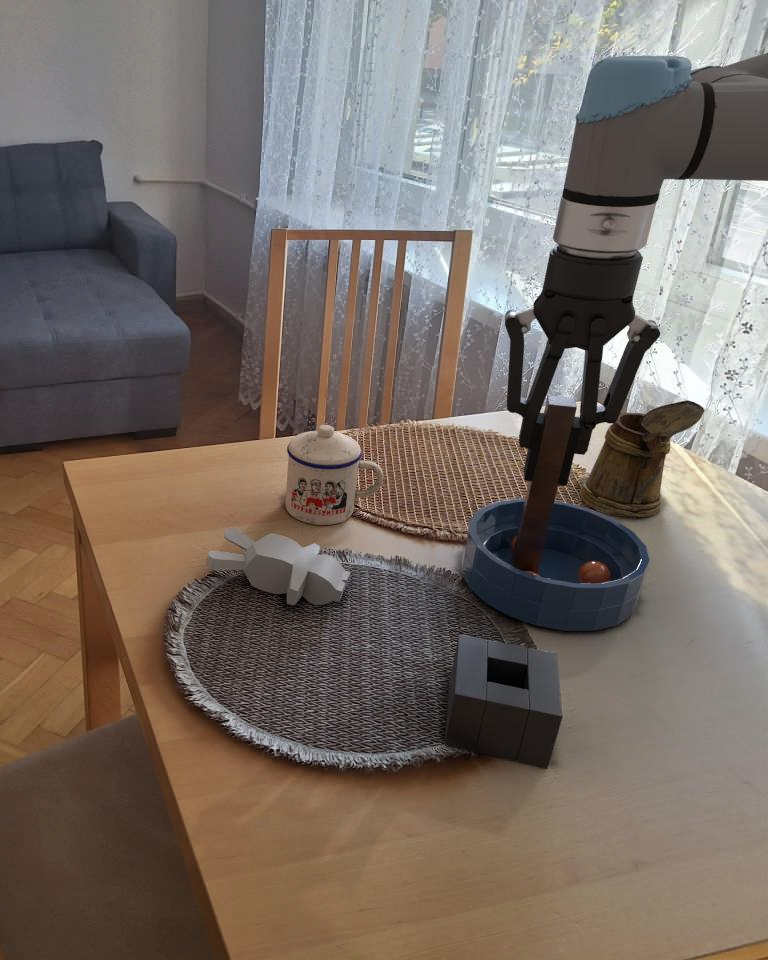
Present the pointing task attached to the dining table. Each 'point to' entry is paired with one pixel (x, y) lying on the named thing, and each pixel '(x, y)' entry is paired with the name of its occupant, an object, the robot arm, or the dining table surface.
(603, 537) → the bowl
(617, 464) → the wooden mug
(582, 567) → the bead
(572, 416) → the stick
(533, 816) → the dining table surface
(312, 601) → the bunny figurine
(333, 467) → the teacup with lid
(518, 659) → the holder
